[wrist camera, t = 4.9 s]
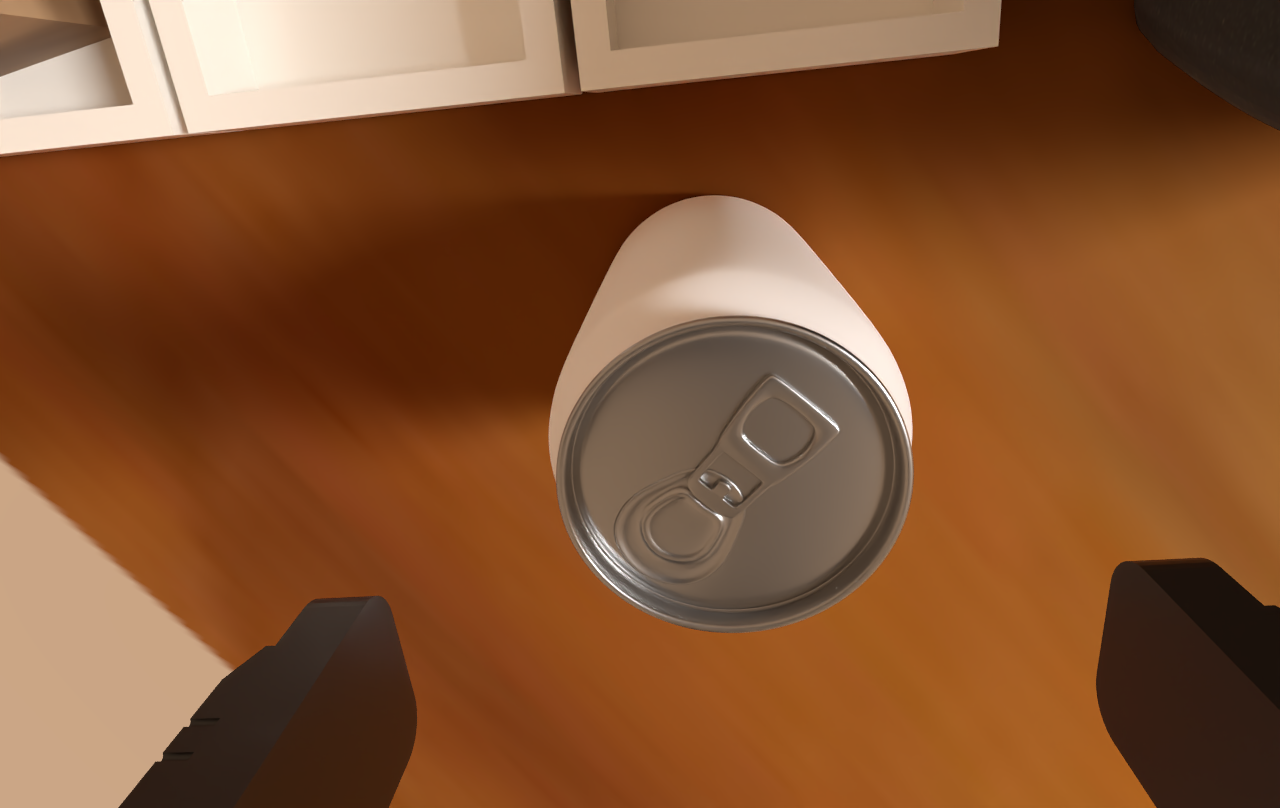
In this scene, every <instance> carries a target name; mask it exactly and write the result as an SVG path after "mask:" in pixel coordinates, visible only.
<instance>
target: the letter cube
mask: <svg viewBox="0 0 1280 808" xmlns="http://www.w3.org/2000/svg"><path fill="white" fill-rule="evenodd" d="M108 38H111V34H110V31H109V28H108V24H107V21H106V18H105V15H104V12H103V9H102V6H101V3H100V0H0V77H1V76H4V75H7V74H10V73H12V72H15V71H18V70H21V69H24V68H26V67H29V66H32V65H35V64H38V63H40V62H43V61H46V60H49V59H52V58H54V57H57V56H60V55H63V54H66V53H69V52H71V51H74V50H77V49H80V48H83V47H85V46H88V45H91V44H94V43H97V42H99V41H102V40H105V39H108Z"/></svg>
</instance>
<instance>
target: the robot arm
mask: <svg viewBox="0 0 1280 808" xmlns="http://www.w3.org/2000/svg"><path fill="white" fill-rule="evenodd" d="M1096 690H1097V698H1098V704H1099V708H1100V712H1101V715H1102V718H1103V721H1104V724H1105V726H1106V729H1107V731H1108V733H1109V735H1110V737H1111V739H1112V740H1113V742H1114V744H1115V745H1116V747H1117V748H1118V750H1119V751H1120V753H1121V754H1122V756H1123V757H1124V759H1125V760H1126V762H1127V763H1128V765H1129V766H1130V768H1131V769H1132V771H1133V772H1134V774H1135V775H1136V777H1137V778H1138V780H1139V782H1140V783H1141V785H1142V786H1143V788H1144V789H1145V791H1146V792H1147V794H1148V795H1149V797H1150V798H1151V800H1152V801H1153V803H1154V804H1155V806H1156V807H1157V808H1280V608H1279V607H1277V606H1275V605H1272V606H1264V605H1263V604H1262V603H1260V602H1259V601H1258V600H1257V599H1256V598H1255V597H1254V596H1252V595H1251V594H1250V593H1249V592H1248V591H1247V590H1246V589H1244V588H1243V587H1242V586H1241V585H1240V584H1239V583H1238V582H1237V581H1235V580H1234V579H1233V578H1232V577H1231V576H1230V575H1229V574H1227V573H1226V572H1225V571H1224V570H1223V569H1222V568H1221V567H1219V566H1218V565H1217V564H1215V563H1214V562H1212V561H1210V560H1208V559H1205V558H1187V559H1166V560H1146V561H1125V562H1122V563H1120V564H1119V565H1118V566H1117V567H1116V569H1115V570H1114V573H1113V575H1112V579H1111V584H1110V590H1109V597H1108V604H1107V610H1106V617H1105V623H1104V630H1103V636H1102V643H1101V650H1100V656H1099V663H1098V669H1097V677H1096ZM190 720H191V723H190V726H189V727H183V729H182V730H181V731H180V732H179V734H178V735H177V736H176V737H175V739H174V740H173V741H172V742H171V743H170V745H169V746H168V747H167V748H166V750H165V751H164V752H163V759H162V761H161V762H155V763H154V765H153V766H152V767H151V768H150V769H149V771H148V772H147V773H146V774H145V775H144V777H143V778H142V779H141V780H140V782H139V783H138V784H137V785H136V787H135V788H134V789H133V790H132V792H131V793H130V794H129V795H128V797H127V798H126V799H125V800H124V801H123V803H122V804H121V805H120V806H119V808H389V805H390V803H391V801H392V798H393V796H394V794H395V791H396V789H397V787H398V784H399V782H400V780H401V777H402V775H403V773H404V770H405V768H406V766H407V763H408V761H409V759H410V756H411V753H412V750H413V746H414V741H415V735H416V726H417V708H416V701H415V696H414V692H413V688H412V685H411V681H410V677H409V674H408V670H407V666H406V663H405V659H404V655H403V652H402V648H401V644H400V641H399V637H398V633H397V629H396V626H395V622H394V618H393V615H392V612H391V609H390V606H389V604H388V603H387V601H386V600H385V599H384V598H383V597H380V596H367V597H347V598H326V599H315V600H313V601H311V602H310V603H308V604H307V605H306V607H305V608H304V609H303V610H302V612H301V613H300V614H299V615H298V617H297V618H296V619H295V621H294V622H293V623H292V625H291V626H290V627H289V629H288V630H287V631H286V633H285V634H284V635H283V636H282V638H281V639H280V640H279V642H278V643H277V644H276V646H266V647H264V648H263V649H262V650H260V651H259V652H258V653H256V654H255V655H254V656H252V657H251V658H250V659H249V660H247V661H246V662H245V663H243V664H242V665H241V666H239V667H238V668H237V669H235V670H234V671H233V672H231V673H230V674H229V675H228V676H226V677H225V678H224V679H222V681H221V682H220V683H219V684H218V685H217V687H216V688H215V689H214V690H213V692H212V693H211V694H210V695H209V696H208V698H207V699H206V700H205V701H204V703H203V704H202V705H201V706H200V708H199V709H198V710H197V711H196V713H195V714H194V715H193V716H192V718H191V719H190Z"/></svg>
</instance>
